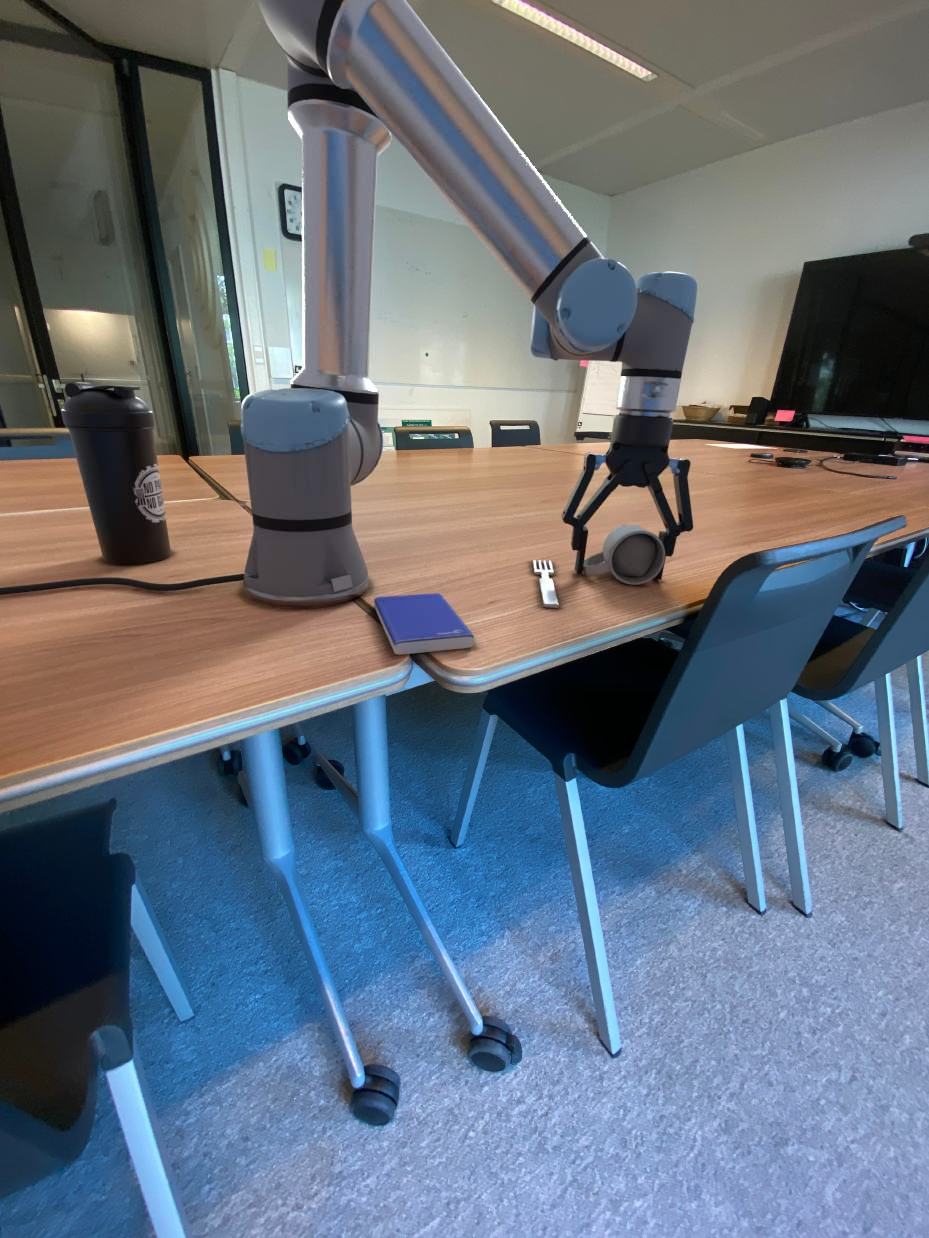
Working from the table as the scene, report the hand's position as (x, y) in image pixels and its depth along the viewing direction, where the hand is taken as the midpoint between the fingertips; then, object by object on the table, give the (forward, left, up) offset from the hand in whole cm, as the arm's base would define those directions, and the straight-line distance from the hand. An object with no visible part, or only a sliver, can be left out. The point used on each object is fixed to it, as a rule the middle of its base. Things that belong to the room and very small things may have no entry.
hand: (617, 574), depth 78 cm
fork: (-11, -5, 0) cm, 12 cm away
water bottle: (-70, -5, -1) cm, 70 cm away
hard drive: (-26, -23, -1) cm, 35 cm away
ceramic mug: (0, 0, -1) cm, 1 cm away
